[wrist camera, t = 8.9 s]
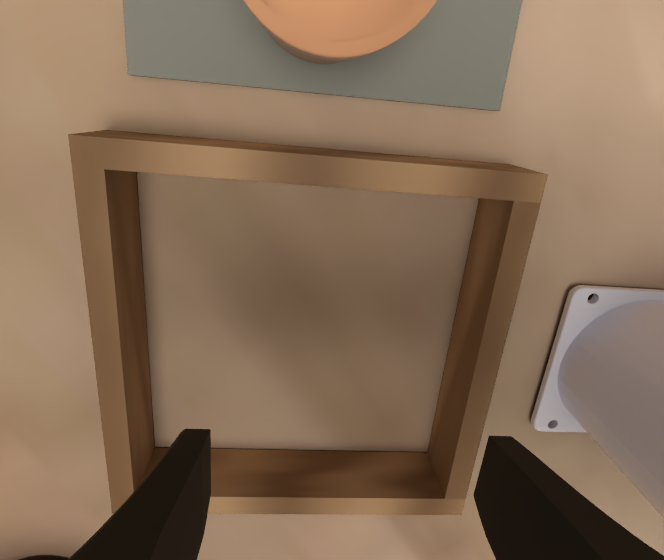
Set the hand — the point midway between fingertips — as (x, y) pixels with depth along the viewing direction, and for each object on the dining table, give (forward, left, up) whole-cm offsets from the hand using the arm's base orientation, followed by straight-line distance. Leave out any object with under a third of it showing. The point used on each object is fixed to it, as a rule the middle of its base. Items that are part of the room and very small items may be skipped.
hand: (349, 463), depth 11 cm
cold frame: (+1, +1, -9) cm, 10 cm away
